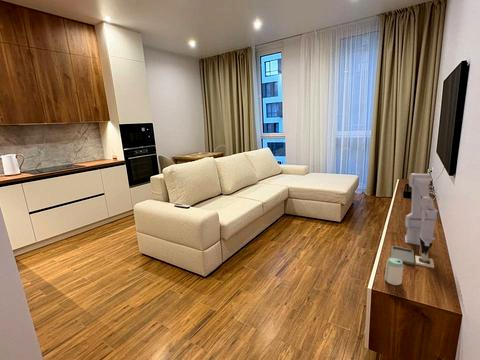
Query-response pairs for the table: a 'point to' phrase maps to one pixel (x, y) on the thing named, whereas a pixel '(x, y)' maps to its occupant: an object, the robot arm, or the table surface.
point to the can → (394, 271)
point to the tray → (403, 254)
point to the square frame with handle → (421, 259)
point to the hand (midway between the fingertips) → (423, 251)
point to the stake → (424, 257)
